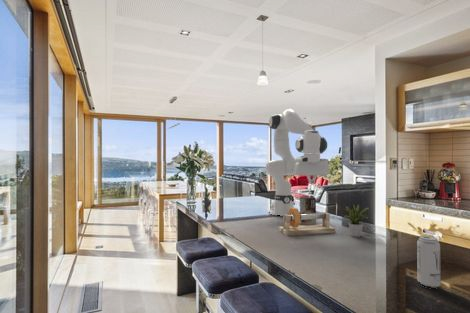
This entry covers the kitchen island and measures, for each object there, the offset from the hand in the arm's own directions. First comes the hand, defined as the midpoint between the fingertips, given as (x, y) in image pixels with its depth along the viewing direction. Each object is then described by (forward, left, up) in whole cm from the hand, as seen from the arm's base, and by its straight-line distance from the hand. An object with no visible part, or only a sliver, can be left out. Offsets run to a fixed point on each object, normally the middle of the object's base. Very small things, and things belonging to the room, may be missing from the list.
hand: (311, 183), depth 160 cm
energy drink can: (+72, 0, -26) cm, 77 cm away
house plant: (+17, +16, -26) cm, 36 cm away
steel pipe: (+2, -5, -20) cm, 21 cm away
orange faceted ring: (+2, -12, -23) cm, 26 cm away
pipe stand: (+2, -5, -26) cm, 27 cm away
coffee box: (-15, +5, -26) cm, 31 cm away
